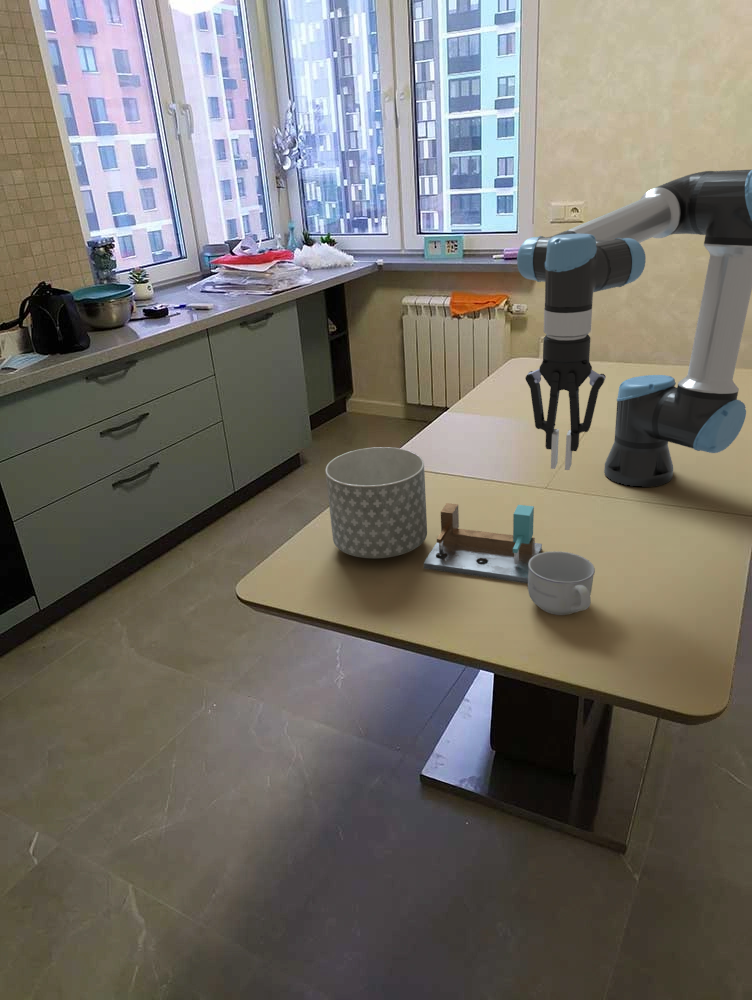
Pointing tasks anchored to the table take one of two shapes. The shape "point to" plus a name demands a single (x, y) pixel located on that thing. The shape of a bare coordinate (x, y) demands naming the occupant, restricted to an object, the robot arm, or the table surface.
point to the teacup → (560, 582)
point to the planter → (377, 501)
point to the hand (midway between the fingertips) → (561, 466)
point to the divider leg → (522, 528)
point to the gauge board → (478, 551)
